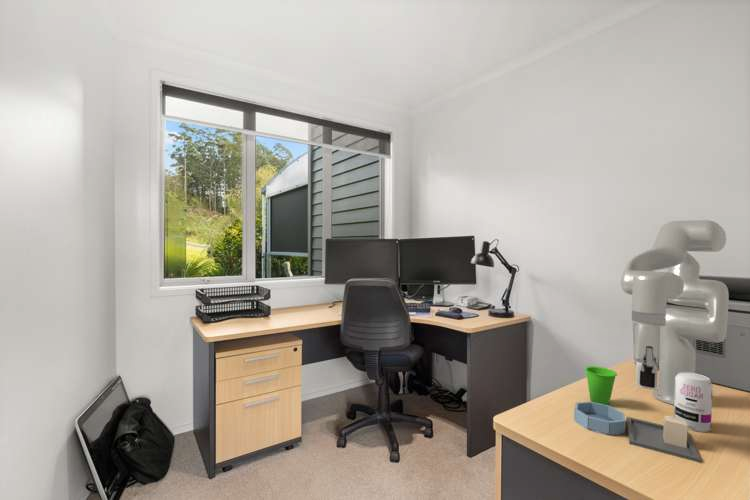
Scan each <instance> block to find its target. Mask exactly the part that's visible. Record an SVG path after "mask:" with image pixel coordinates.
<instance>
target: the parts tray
mask: <svg viewBox="0 0 750 500" xmlns="http://www.w3.org/2000/svg"><path fill="white" fill-rule="evenodd" d="M663 425H664V424H660V423H656V422H652V421H647V420H645V419H644V420H643V419H638V418H635V417H630V416H626V426H627V434H628V442H629V445H632V446H636V447H639V448H643V449H647V450H652V451H654V452H659V453H662V454H666V455H669V456H673V457H677V458H681V459H685V460H689V461H692V462H696V463H701V458H700V456H699V453H698V451H697V450H696V447H695V445H694V442H693V440H692V438H691V435H690V433H689V431H688V430H687V448H684V447H680V446H676V445H672V444H668V443H665V441H664V438H663Z"/></svg>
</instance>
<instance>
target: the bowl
mask: <svg viewBox="0 0 750 500" xmlns="http://www.w3.org/2000/svg"><path fill="white" fill-rule="evenodd" d="M573 411H574V412H573V413H574V416H573V417H574V421H575V423H577V424H578V425H579V426H581V427H583V428H585V429H587V430H589V431H592V432H594V433H597V434H602V435H606V436H607V435H609V436H618V435H622V434H623V433H626V416H625V413H624V412H622V411H621V410H618V409H617V408H614V407H613V406H611V405H604V404H599V403H595V402H591V400H590V401H589V400H588V401H578V402H575V404H574V410H573Z"/></svg>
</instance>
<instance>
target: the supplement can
mask: <svg viewBox="0 0 750 500" xmlns="http://www.w3.org/2000/svg"><path fill="white" fill-rule="evenodd" d="M712 408H713V384H712V382H711V380H710V378H709V377H707V376H705V375H703V374H699V373H696V372H695V373H690V372H679V373H678V374H677V376H676V377H675V397H674V405H673V417H674V418H679V419H684V420H685V421H686V423H687V430H690V431H694V432H701V433H704V432H707V433H708V432H710V431H712V415H713V414H712V411H713V410H712Z"/></svg>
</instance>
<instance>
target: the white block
mask: <svg viewBox="0 0 750 500" xmlns="http://www.w3.org/2000/svg"><path fill="white" fill-rule="evenodd" d="M635 363H636V367H635V368H636V369H635V371H636V372H635V384H636V387H637V388H642V389H648V390H652V391H653V390H657V389H658V376H659V367H658V365H657V364H656V363H655V364H654V373H655V387H654V388H651V387H646V386H641V385H640V371H641V364H642V362H640V361H636V362H635ZM644 364H646V363H644Z"/></svg>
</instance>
